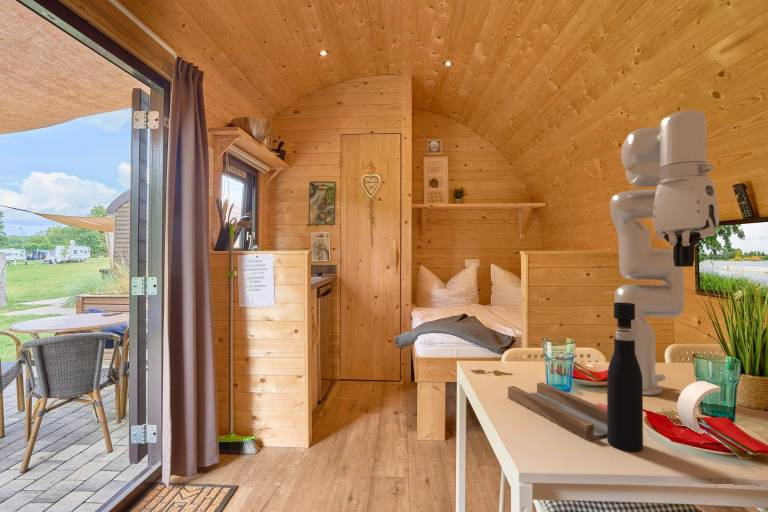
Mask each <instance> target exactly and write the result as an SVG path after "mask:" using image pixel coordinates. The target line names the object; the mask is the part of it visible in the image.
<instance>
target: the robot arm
mask: <svg viewBox="0 0 768 512" xmlns="http://www.w3.org/2000/svg"><path fill="white" fill-rule="evenodd" d="M707 142H708V141H707V117H706V114H705V113H704V112H703V111H701V110H693V109H692V110H689V109H688V110H683V111H682V110H681V111H678V112H675V113H671V114H669V115H667V116H665V117H664V118H663V119H661V121H660V124H659V126H651V127H644V128H643V127H642V128H639V129H634V130H633V131H631V132H630V133H629V134H628V135H627V136H626V138H625V140H624V141H623V143H622V147H621V150H620V151H621V154H620V156H621V157H620V159H621V163H622V165H623V167H624V169H625V170H626V171H625V178H626V181H627V182H628V183H629V184H630V185H632V186H634V187H638V188H650V187H651V188H652V187H656V189H635V190H627V191H626V190H625V191H622V192H621V191H620V192H617V193H616V194H614V195H613V196H612V197H611V198H610V202H609V211H610V217H611V220H612V223H613V225H614V227H615V231H616V234H617V236H618V267H619V273H620V275H621V277H623V278H624V279H626V280H632V281H660V282H662V284H624V285H621V286H619V287H618V288H616V290H615V291H614V303H618V302H621V303H633V304H635V320H631V327H632V329H629V331H633V334H634V335H633V337H634V338H633V340H634V341H635V355H636V358H637V360H638V363H639V366H640V369H641V374H642V379H643V396H657V395H660V394H662V393H663V389H662V387H661V386H660V385H658V382H662V381H665V380H666V376H665V375H664V374H662V373H660V374H656V332H655V330H654V328H653V326H652V325H651V324H650V323H649V322H648V321H647V320H646V319H645V318H647V317H648V318H650V317H652V318H678V317H680V316H682V315H683V314H684V311H685V305H686V304H685V281H684V280H685V278H684V277H685V276H684V274H685V273H684V267H686V268H691V267H692V268H693V267H694V262H695V247H697V246H698V244H699V242H700V241H701V240H702V239H703V238H708V237H711V236H714V235H715V234H716V229H717V228H718V227H719V225H720V213H719V212H720V211H719V203H718V196H717V192H716V187H715V184H714V180H713V178H711V177H708V176H709V174H708V173H709V172H712V171H713V170H715V169H714V168H715V167H714V164H713V163H708V162H707V160H708V158H707V157H708V156H707V155H708V154H707V149H708V148H707V144H708V143H707ZM641 219H652V223H653V229H654V231H655V234H654V236H655V238H656V239H661V240H665V241H666V242H668V243H669V246H670V247H672V248H673V249H670V248H653V247H652V234H651V231H650V230H649V228H648V227H647V226H646V225H645V224H644V223H643V222H642V221H641ZM617 330H626V329H619V328H617Z"/></svg>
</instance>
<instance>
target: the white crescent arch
mask: <svg viewBox="0 0 768 512" xmlns="http://www.w3.org/2000/svg"><path fill="white" fill-rule="evenodd" d="M721 391H722V387H720V386H718V385H716V384H713V383H710V382H707V381H705V380H698V381H694V382H692V383H690V384H689V385H687V386H686V387H685V388H684V389H682V391H681V392H680V394H679V397H678V399H677V404H676V411H677V417H678V418H679V420H680V421H681V423H682V424H683V426H684V427H685V426H686V427H688V428H690V429H691V430H693V431H695V432H697V433H699V434H703V433H704V432H703V431H702V429H701V427H700V425H699V423H698V419H697V418H698V417H697V414H698V413H697V412H698V408H699V405H700V403H701V402H702V400H703V399H705V398H706V397H707V396H709V395H710V394H713V393H715V392H717V393H718V392H721ZM686 427H685V428H686ZM688 428H687V429H688ZM682 430H683V429H682ZM684 430H685V429H684ZM684 430H683V431H684ZM701 444H703V442H702V443H701Z"/></svg>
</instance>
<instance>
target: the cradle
mask: <svg viewBox="0 0 768 512" xmlns="http://www.w3.org/2000/svg"><path fill="white" fill-rule="evenodd" d="M507 399H509V400H511V401H513V402H515V404H518V405H520V406H522V407H524V408H526V409H528V410H530V411H531V412H533V413H535V414H537V415H539V416H540V417H542V418H544V419H545V420H548V421H549V422H552V423H554V424H555V425H557V426H559V427H561V428H562V429H564V430H567V431H568V432H570V433H572V434H574V435H576V436H578V437H579V438H582V439H583V440H585V441H591V440H595V439H601V438H605V437H607V433H608V432H607V409H604V408H602V407H599V406H597V404H595V403H592V402H590V401H587V400H585V399H583V398H581V397H579V396H578V397H577V396H575V395H574V394H571V393H569V392H566V391H563V390H561V389H559V388H556V387H554V386H552V385H549V384H547V383H545V382H537V383H536V391H535V392H527V391H525V390H523V389H521V388H519V387H516V386H514V385H512V386H508V387H507Z"/></svg>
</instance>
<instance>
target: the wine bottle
mask: <svg viewBox="0 0 768 512" xmlns="http://www.w3.org/2000/svg"><path fill="white" fill-rule="evenodd" d="M613 318H614V319H617V329H616V330H615V336H614V337H615V338H614V339H613V341H614V342H613V343H614V344H613V346H614V347H613V349H614V350H613V351H614V352H613V354H612V356H611V359H610V361H609V365H608V368H607V375H606V382H607V383H606V386H607V387H606V389H607V390H606V395H607V397H606V399H607V400H606V402H607V403H606V405H607V432H608V433H607V443H608V444H609V445H610V446H611V447H612V448H615V449H617V450H619V451H623V452H630V453H637V452H639V453H640V452H641V451H643V450H644V433H643V432H644V423H643V421H644V419H643V418H644V417H643V416H644V407H643V404H644V403H643V399H644V398H643V396H644V395H643V379H642V374H641V369H640V366H639V363H638V360H637V358H636V355H635V341H634V340H633V338H634V337H633V335H634V334H633V331H629V329H632V327H631V320H635V304H633V303H621V302H618V303H615V302H613ZM618 328H619V329H626V330H618Z"/></svg>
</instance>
